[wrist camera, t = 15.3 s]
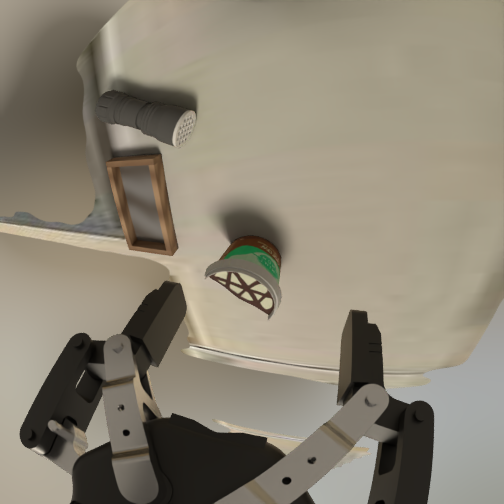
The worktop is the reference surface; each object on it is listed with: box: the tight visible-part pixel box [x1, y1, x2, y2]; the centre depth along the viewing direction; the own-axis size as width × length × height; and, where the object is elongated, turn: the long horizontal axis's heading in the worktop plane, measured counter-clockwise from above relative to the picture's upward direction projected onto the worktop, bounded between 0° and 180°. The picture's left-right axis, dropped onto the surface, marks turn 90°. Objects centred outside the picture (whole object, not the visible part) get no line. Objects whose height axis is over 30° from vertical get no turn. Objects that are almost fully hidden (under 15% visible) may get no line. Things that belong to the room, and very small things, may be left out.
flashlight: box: [95, 90, 196, 148], centre depth 33 cm, size 15×5×5 cm, turn 70°
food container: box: [205, 236, 282, 320], centre depth 42 cm, size 12×6×10 cm, turn 57°
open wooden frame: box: [106, 154, 178, 256], centre depth 45 cm, size 18×10×2 cm, turn 2°
